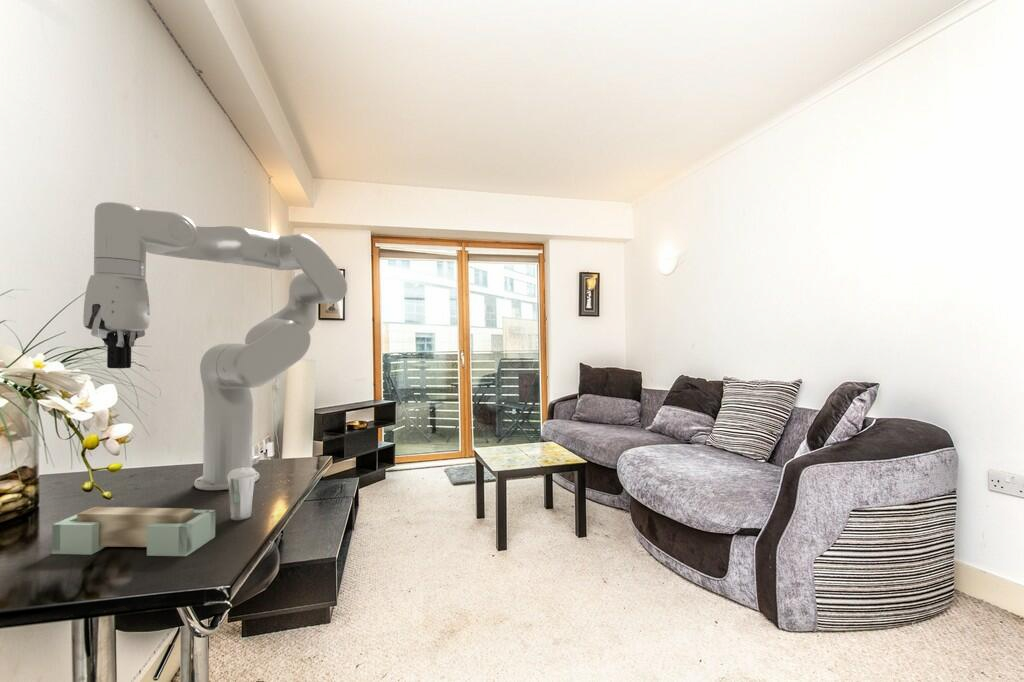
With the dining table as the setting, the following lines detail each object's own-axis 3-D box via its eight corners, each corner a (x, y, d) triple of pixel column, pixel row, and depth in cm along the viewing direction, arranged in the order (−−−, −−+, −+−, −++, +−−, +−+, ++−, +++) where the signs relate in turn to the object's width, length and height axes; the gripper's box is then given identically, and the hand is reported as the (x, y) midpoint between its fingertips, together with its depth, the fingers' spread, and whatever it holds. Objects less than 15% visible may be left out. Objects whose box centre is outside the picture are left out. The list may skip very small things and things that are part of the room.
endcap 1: (52, 553, 71) (52, 524, 71) (92, 534, 78) (93, 507, 78) (91, 554, 71) (91, 525, 71) (128, 535, 78) (129, 508, 78)
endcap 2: (215, 536, 78) (215, 510, 78) (186, 556, 71) (186, 526, 71) (179, 536, 78) (179, 509, 78) (146, 555, 71) (147, 526, 71)
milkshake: (256, 509, 90) (257, 458, 90) (254, 519, 85) (255, 465, 85) (228, 513, 88) (229, 460, 88) (225, 523, 83) (226, 467, 83)
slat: (76, 545, 73) (77, 513, 73) (94, 537, 76) (94, 506, 76) (179, 547, 73) (180, 515, 73) (192, 539, 76) (193, 508, 76)
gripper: (132, 275, 96) (131, 365, 96) (62, 264, 81) (61, 370, 81) (169, 276, 96) (168, 366, 96) (106, 265, 81) (104, 371, 81)
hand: (119, 367), depth 88 cm, fingers closed
